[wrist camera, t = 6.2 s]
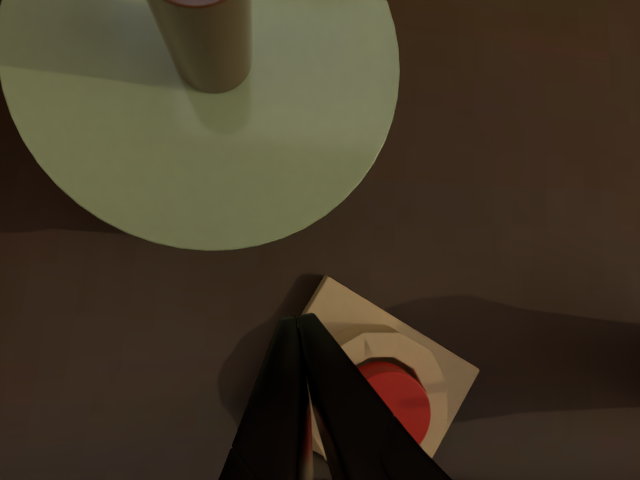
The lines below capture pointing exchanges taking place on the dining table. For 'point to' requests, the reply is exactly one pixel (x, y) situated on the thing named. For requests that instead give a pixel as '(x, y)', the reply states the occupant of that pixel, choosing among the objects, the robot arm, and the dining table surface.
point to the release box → (392, 354)
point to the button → (400, 396)
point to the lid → (202, 109)
